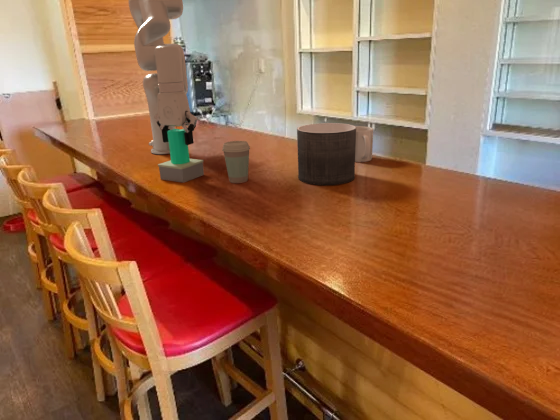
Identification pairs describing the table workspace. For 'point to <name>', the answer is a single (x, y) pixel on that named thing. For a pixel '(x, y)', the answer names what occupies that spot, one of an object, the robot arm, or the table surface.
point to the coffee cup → (237, 160)
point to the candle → (178, 146)
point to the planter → (326, 153)
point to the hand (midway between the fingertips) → (178, 142)
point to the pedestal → (181, 170)
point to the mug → (363, 144)
